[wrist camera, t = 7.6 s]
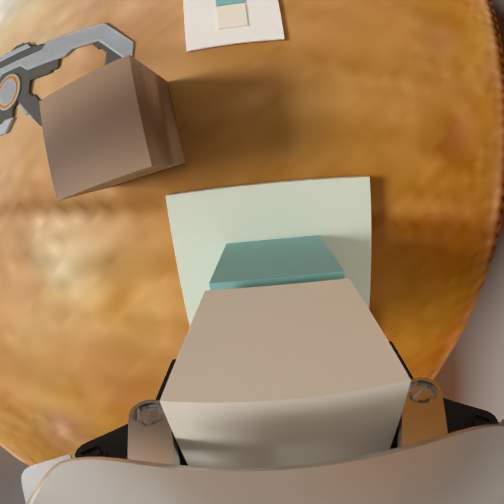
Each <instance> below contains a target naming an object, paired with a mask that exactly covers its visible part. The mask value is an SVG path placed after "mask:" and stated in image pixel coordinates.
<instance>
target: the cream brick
mask: <svg viewBox="0 0 504 504" xmlns="http://www.w3.org/2000/svg"><path fill="white" fill-rule="evenodd" d="M410 382H411V379H410V378H409V376H408V374H407V372H406V371H405V369H404V367H403V365H402V364H401V362H400V360H399V358H398V357H397V355H396V353H395V352H394V350H393V348H392V346H391V345H390V343H389V341H388V340H387V338H386V336H385V335H384V333H383V331H382V330H381V328H380V327H379V325H378V323H377V322H376V320H375V318H374V317H373V315H372V314H371V312H370V310H369V309H368V307H367V306H366V304H365V302H364V301H363V299H362V298H361V296H360V295H359V293H358V291H357V290H356V288H355V287H354V285H353V284H352V282H351V281H350V279H349V278H346V279H337V280H327V281H317V282H307V283H296V284H285V285H273V286H261V287H249V288H236V289H222V290H208V291H205V292H204V294H203V297H202V299H201V302H200V304H199V306H198V309H197V311H196V313H195V316H194V318H193V320H192V323H191V325H190V328H189V330H188V332H187V335H186V337H185V340H184V342H183V344H182V347H181V349H180V352H179V354H178V356H177V359H176V361H175V364H174V366H173V369H172V371H171V374H170V376H169V379H168V381H167V384H166V386H165V389H164V391H163V394H162V396H161V399H160V403H161V406H162V408H163V411H164V413H165V415H166V418H167V420H168V423H169V425H170V427H171V430H172V432H173V434H174V436H175V439H176V441H177V443H178V445H179V447H180V449H181V452H182V454H183V456H184V458H185V460H186V462H187V464H188V466H201V467H272V466H288V465H299V464H309V463H318V462H326V461H333V460H339V459H346V458H352V457H357V456H362V455H368V454H372V453H377V452H382V451H386V450H390V447H391V444H392V441H393V439H394V436H395V433H396V430H397V427H398V424H399V421H400V417H401V414H402V411H403V407H404V404H405V400H406V397H407V393H408V390H409V386H410Z"/></svg>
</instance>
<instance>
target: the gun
mask: <svg viewBox="0 0 504 504" xmlns="http://www.w3.org/2000/svg"><path fill="white" fill-rule="evenodd" d="M90 44H93V45H94V46H95V47H97V48H98V49H103V50H104V51H105V52H106V62H105V65H107V64H109V63H111V62H113V61H115V60H118V59H120V58H122V57H125V56H127V55H130V56H132V57H133V52H134V42H133V41H132V40H130V39H129V38H127V37H126V36H124V35H123V34H121V33H120V32H118V31H117V30H115V29H114V28H112V27H110V26H109V25H107V24H106V23H102V24H98V25H95V26H91V27H88V28H84V29H81V30H78V31H75V32H72V33H69V34H66V35H63V36H60V37H58V38H55V39H52V40H50V41H48V42H47V43H46V44H40V45H36V46H34V47H32V46H31V45H30V44H24V43H23V44H20V45H18V46H16V47H15V48H14V49H13V50H12V51H11V52H9V53H7V54H5V55H3V56H1V57H0V136H1V135H4V134H7V133H8V132H9V130H10V128H11V125H12V123H13V121H14V119H15V117H14V111H15V107H16V105H17V104H18V102H19V107H20V109H21V110H22V112H23V113H24V114H25V115H27V114H28V113H29V114H28V117H29V118H33V119H34V120H35V121H36V122H37V123H38V124H39V125H40V126H42V120H41V113H40V104H39V101H41V100H40V99H39V98H38V97H37V96H36V95H33V94H31V83H32V80H34V79H37V78H40V77H42V76H45V75H48V74H51V73H52V71H53V70H56V69H58V68H59V64H60V59H62V58H65V57H66V56H67V55H68V54H69V53H70V52H71V51H72V50H74V49H77V48H80V47H83V46H86V45H90Z"/></svg>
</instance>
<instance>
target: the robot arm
mask: <svg viewBox="0 0 504 504" xmlns="http://www.w3.org/2000/svg"><path fill="white" fill-rule="evenodd" d="M389 343H390V345H391V346H392V348H393V350H394V352H395V353H396V355H397V357H398V358H399V360H400V362H401V364H402V365H403V367H404V369H405V371H406V372H407V374H408V376H409V378H410V379H411V382H410V386H409V390H408V393H407V397H406V400H405V404H404V407H403V411H402V414H401V417H400V421H399V424H398V427H397V430H396V433H395V436H394V439H393V441H392V444H391V447H390V450H386V451H382V452H377V453H372V454H368V455H362V456H357V457H352V458H346V459H339V460H333V461H326V462H318V463H309V464H299V465H288V466H272V467H201V466H188V464H187V462H186V460H185V458H184V456H183V454H182V452H181V449H180V447H179V445H178V443H177V441H176V439H175V436H174V434H173V432H172V430H171V427H170V425H169V423H168V420H167V418H166V415H165V413H164V411H163V408H162V406H161V403H160V399H161V396H162V394H163V391H164V389H165V386H166V384H167V381H168V379H169V376H170V374H171V371H172V369H173V366H174V364H175V361H176V359H174V360H172V362H171V364H170V367H169V369H168V371H167V374H166V376H165V379H164V381H163V383H162V386H161V388H160V391H159V393H158V395H157V398H156V400H146V401H142V402H140V403H138V404H137V405H135V406H134V407H133V408H132V409H131V411H130V413H129V420H128V424H126V425H124V426H122V427H120V428H118V429H116V430H114V431H112V432H109V433H107V434H105V435H103V436H100V437H98V438H96V439H94V440H91V441H89V442H87V443H85V444H83V445H81V446H80V447H79V448H78V449H77V451H76V453H75V456H71V455H70V454H68V455H65V456H62V457H59V458H55V459H52V460H49V461H46V462H42V463H39V464H35V465H32V466H30V467H28V468H26V469H25V470H24V472H23V474H22V478H21V480H22V487H23V492H24V497H25V502H26V504H504V420H502V421H501V422H498V421H497V419H496V417H495V416H494V415H493V414H492V413H490V412H488V411H485V410H482V409H478V408H475V407H471V406H468V405H464V404H461V403H457V402H454V401H451V400H448V399H445V398H443V396H442V390H441V388H440V386H439V385H438V384H437V383H436V382H435V381H433V380H431V379H428V378H421V377H420V378H413V377H412V375H411V374H410V372H409V370H408V368H407V367H406V365H405V363H404V362H403V360H402V358H401V356H400V355H399V353H398V351H397V350H396V348H395V346H394V345H393V343H392V342H391V341H389Z"/></svg>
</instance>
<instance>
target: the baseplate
mask: <svg viewBox="0 0 504 504" xmlns="http://www.w3.org/2000/svg"><path fill="white" fill-rule="evenodd" d="M166 202H167V209H168V215H169V221H170V228H171V234H172V239H173V245H174V251H175V256H176V262H177V267H178V273H179V278H180V283H181V288H182V293H183V298H184V302H185V307H186V312H187V316H188V321H189V325H191V323H192V320H193V318H194V316H195V313H196V311H197V309H198V306H199V304H200V302H201V299H202V297H203V294H204V292H205V291H208V290H210V286H209V282H210V280H211V278H212V275H213V273H214V271H215V268H216V266H217V264H218V261H219V259H220V257H221V255H222V252H223V250H224V248H225V245H226V244H227V243H237V242H248V241H259V240H270V239H281V238H293V237H304V236H316V235H320V236H321V238H322V239H323V241H324V242H325V244H326V245H327V247H328V248H329V249H330V251H331V252H332V254H333V255H334V257H335V258H336V260H337V261H338V263H339V264H340V266H341V267H342V269H343V270H344V279H346V278H349V279H350V281H351V282H352V284H353V285H354V287H355V288H356V290H357V291H358V293H359V295H360V296H361V298H362V299H363V301H364V302H365V304H366V306H367V307H368V309H369V304H370V284H371V194H370V177H368V176H350V177H331V178H315V179H301V180H289V181H277V182H266V183H255V184H246V185H236V186H227V187H219V188H210V189H202V190H195V191H187V192H180V193H173V194H169V195H166Z"/></svg>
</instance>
